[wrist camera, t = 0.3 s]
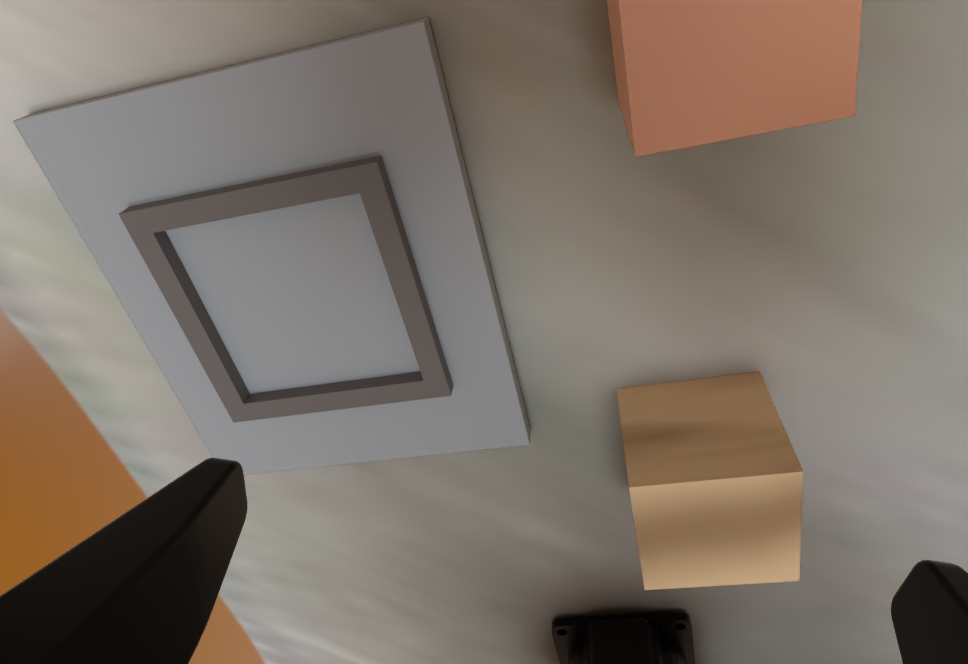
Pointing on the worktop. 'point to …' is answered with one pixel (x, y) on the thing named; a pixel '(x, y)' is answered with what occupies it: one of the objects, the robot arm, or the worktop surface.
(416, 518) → the worktop surface
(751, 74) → the terracotta block
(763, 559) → the oak cube
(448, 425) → the grey flat square plate
